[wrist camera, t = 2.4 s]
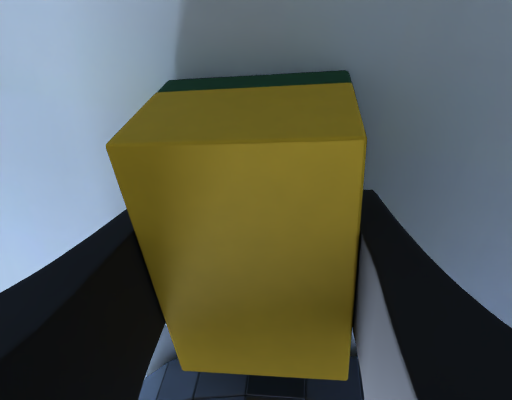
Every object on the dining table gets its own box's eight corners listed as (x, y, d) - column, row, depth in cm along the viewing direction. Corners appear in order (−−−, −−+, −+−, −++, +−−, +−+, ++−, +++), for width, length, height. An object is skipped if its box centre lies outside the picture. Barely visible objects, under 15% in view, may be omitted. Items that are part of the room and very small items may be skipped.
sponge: (167, 79, 10) (103, 144, 7) (349, 69, 9) (367, 136, 6) (210, 275, 13) (181, 371, 10) (339, 278, 13) (348, 381, 10)
